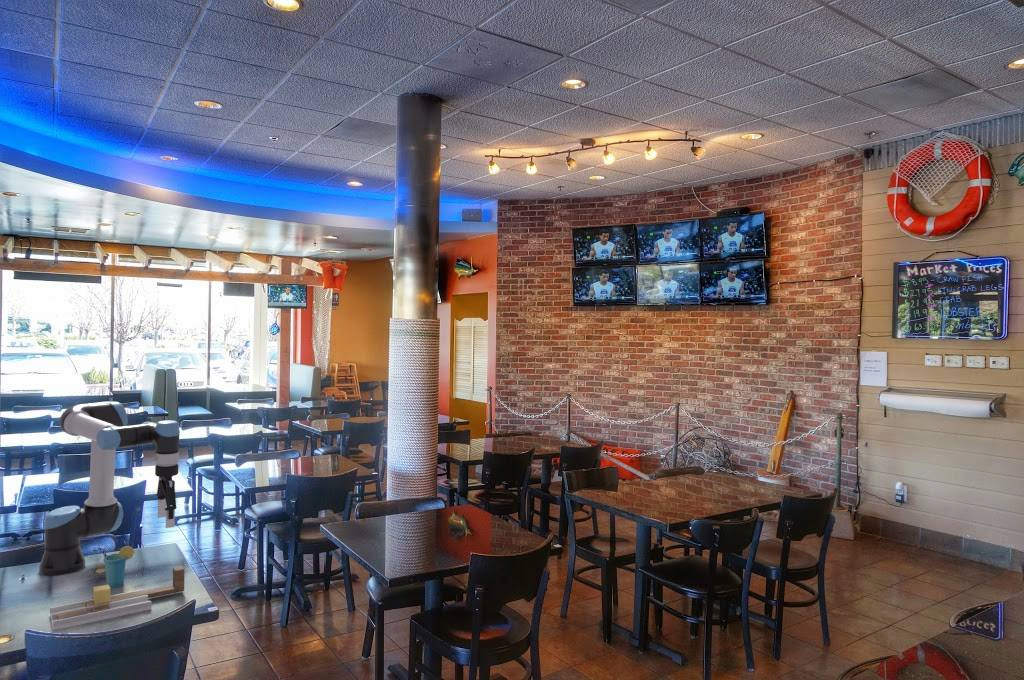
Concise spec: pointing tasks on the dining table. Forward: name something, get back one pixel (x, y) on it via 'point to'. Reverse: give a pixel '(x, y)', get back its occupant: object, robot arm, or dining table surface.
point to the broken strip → (82, 612)
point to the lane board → (115, 610)
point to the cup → (116, 565)
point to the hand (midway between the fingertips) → (165, 522)
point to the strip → (176, 587)
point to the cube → (101, 594)
